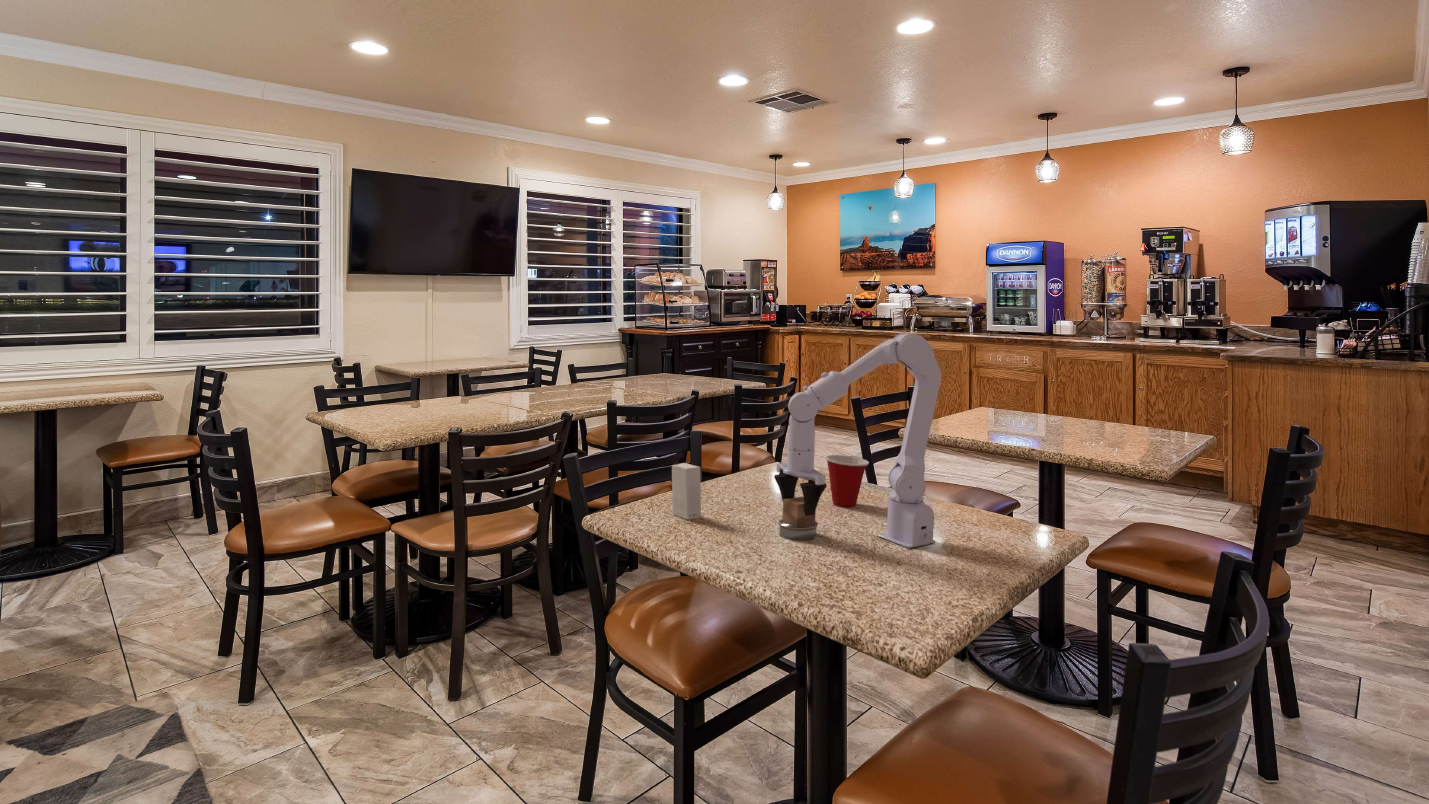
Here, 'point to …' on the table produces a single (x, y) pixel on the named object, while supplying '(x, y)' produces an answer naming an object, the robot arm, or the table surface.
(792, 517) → the walnut block
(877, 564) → the table surface
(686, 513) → the skincare box
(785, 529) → the grey metal cylinder
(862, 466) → the plastic cup
